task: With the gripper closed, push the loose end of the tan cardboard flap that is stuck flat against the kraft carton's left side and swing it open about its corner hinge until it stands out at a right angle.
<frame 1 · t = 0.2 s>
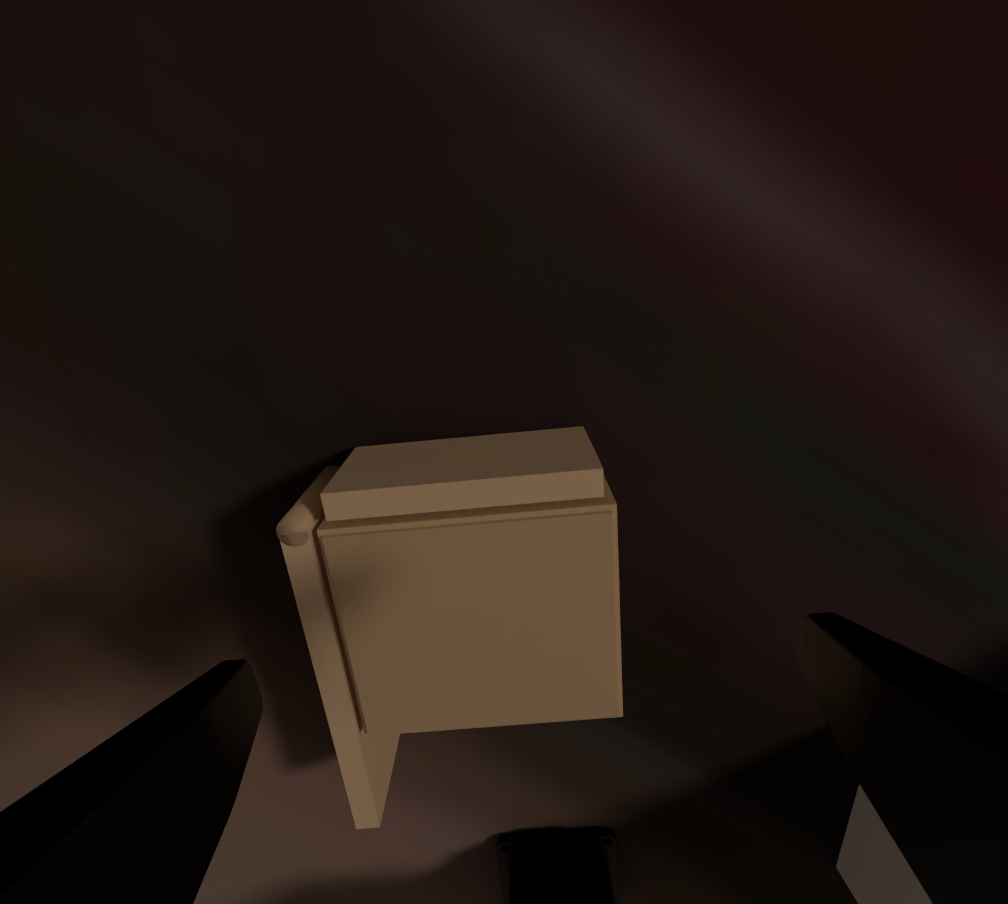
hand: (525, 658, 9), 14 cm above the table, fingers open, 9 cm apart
flap: (350, 648, 23), point 3 cm above the table, hinge at 0.0°
carton: (484, 557, 24), on the table
milk: (962, 785, 29), on the table
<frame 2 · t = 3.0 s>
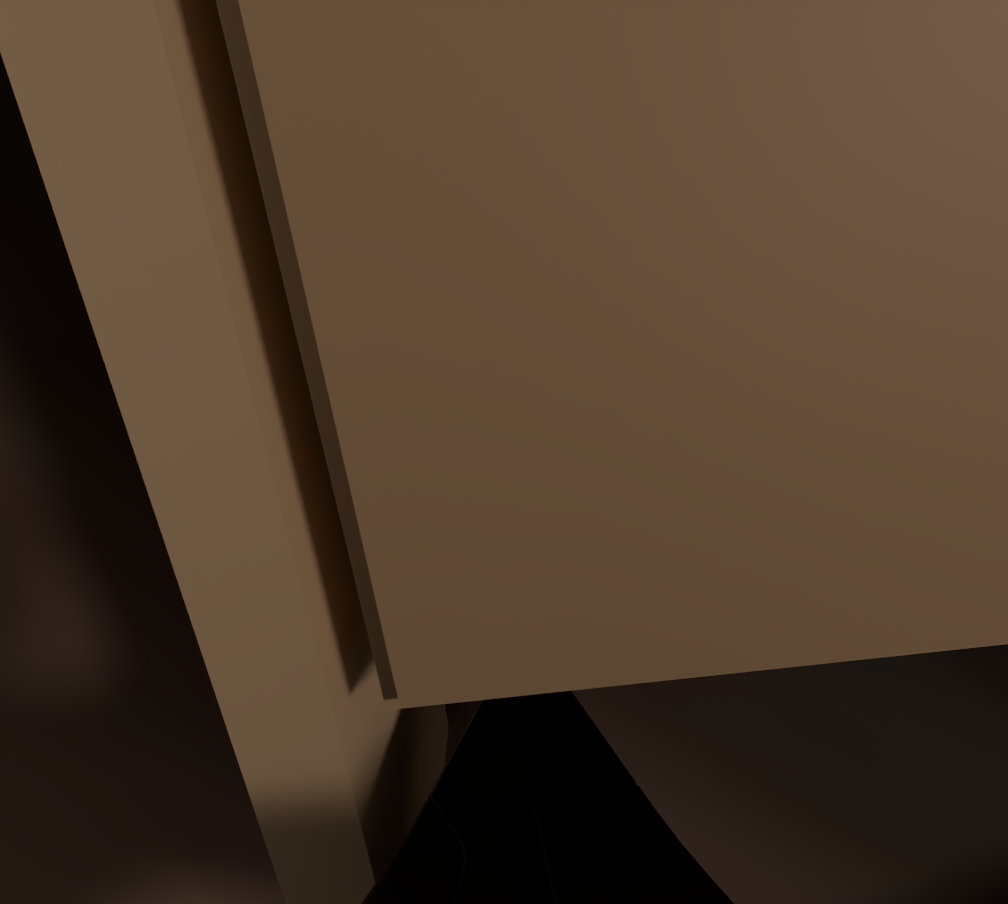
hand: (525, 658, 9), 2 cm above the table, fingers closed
flap: (310, 415, 7), point 3 cm above the table, hinge at 1.3°, touching gripper
carton: (723, 179, 8), on the table
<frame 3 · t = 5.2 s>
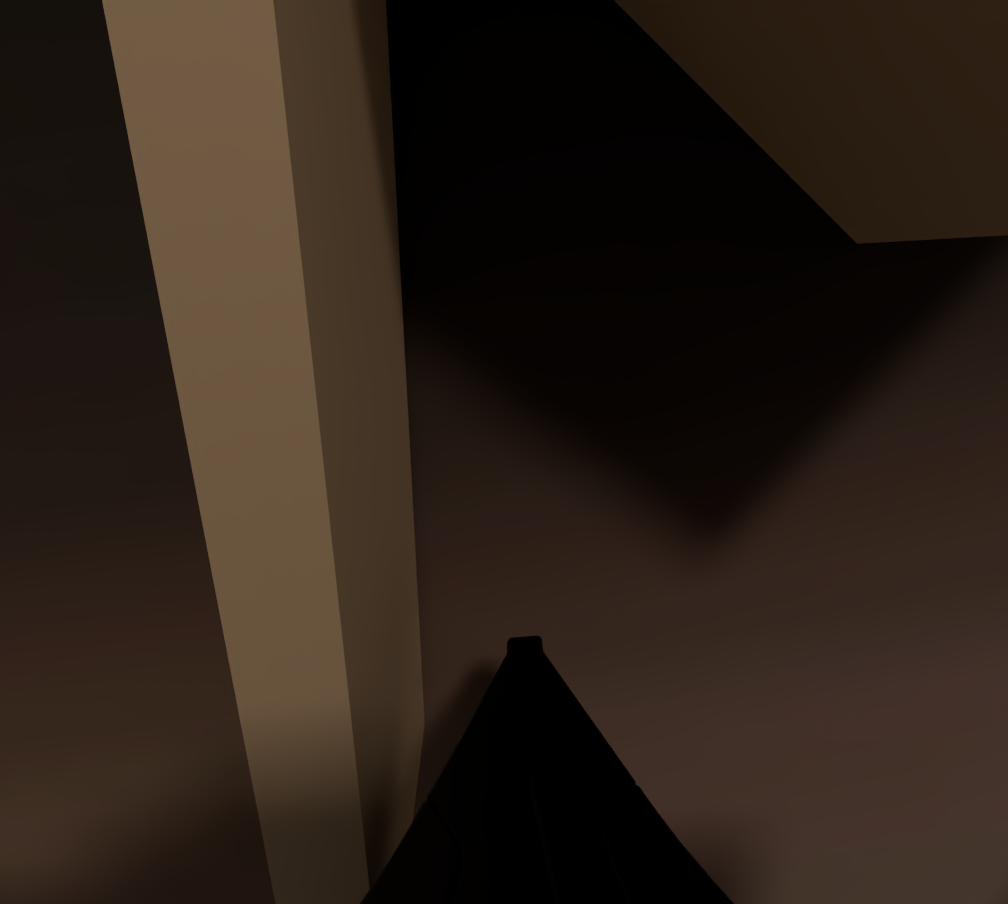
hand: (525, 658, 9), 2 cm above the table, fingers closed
flap: (337, 405, 7), point 3 cm above the table, hinge at 53.0°, touching gripper
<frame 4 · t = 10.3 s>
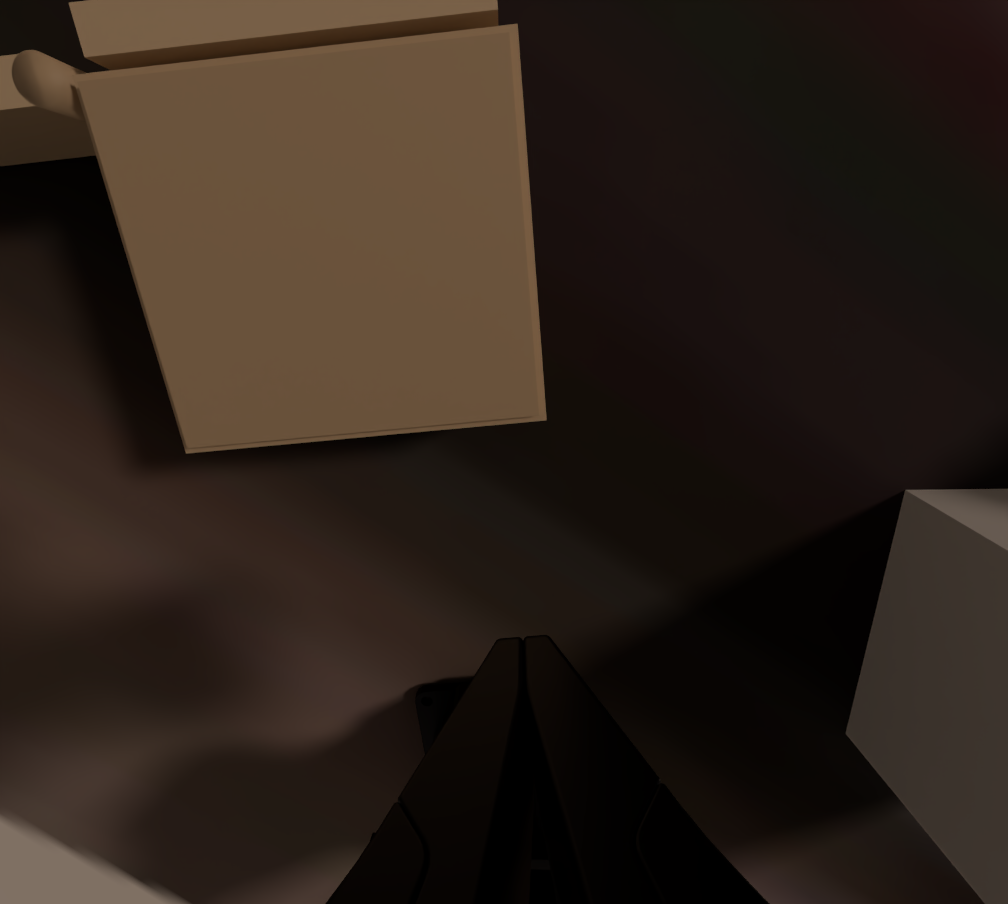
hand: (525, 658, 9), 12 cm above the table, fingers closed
carton: (376, 264, 18), on the table
milk: (1006, 617, 23), on the table
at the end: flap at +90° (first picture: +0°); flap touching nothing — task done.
